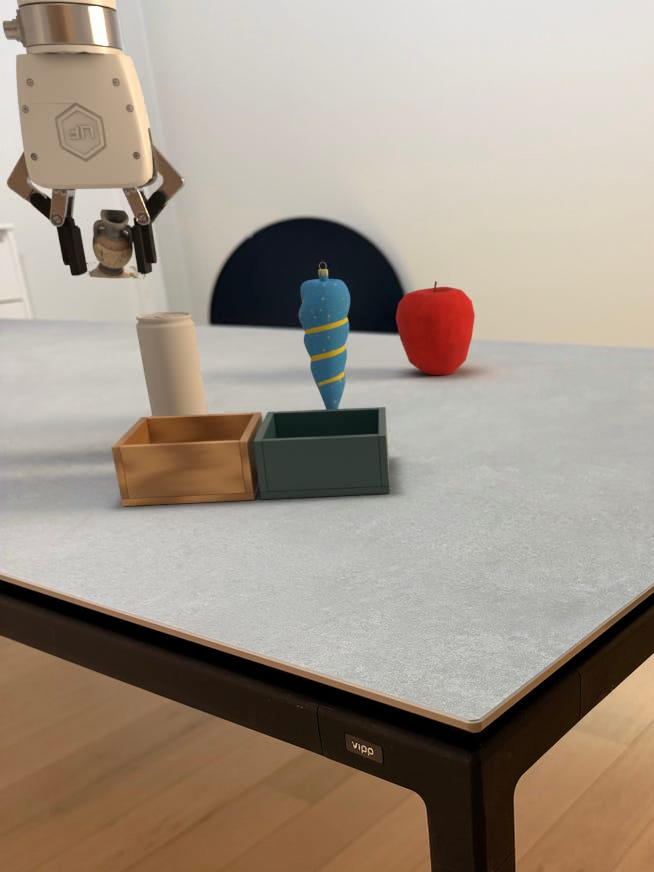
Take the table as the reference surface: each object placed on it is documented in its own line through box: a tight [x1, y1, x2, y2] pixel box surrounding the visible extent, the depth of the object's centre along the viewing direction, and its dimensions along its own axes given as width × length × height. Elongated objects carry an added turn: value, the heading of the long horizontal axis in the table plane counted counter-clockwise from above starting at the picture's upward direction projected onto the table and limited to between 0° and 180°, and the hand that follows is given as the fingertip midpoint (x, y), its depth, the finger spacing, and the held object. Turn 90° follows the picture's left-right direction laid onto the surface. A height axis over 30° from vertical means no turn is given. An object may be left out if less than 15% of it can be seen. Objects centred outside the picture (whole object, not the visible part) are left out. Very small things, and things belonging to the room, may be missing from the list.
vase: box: [86, 208, 147, 280], centre depth 85 cm, size 5×5×6 cm
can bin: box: [254, 406, 391, 500], centre depth 78 cm, size 10×10×5 cm
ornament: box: [298, 261, 351, 410], centre depth 95 cm, size 5×5×15 cm
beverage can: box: [135, 311, 208, 417], centre depth 84 cm, size 5×5×12 cm
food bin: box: [110, 411, 263, 507], centre depth 77 cm, size 10×10×5 cm
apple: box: [395, 280, 476, 376], centre depth 117 cm, size 10×10×11 cm
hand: (112, 271), depth 86 cm, fingers closed on vase, 5 cm apart
